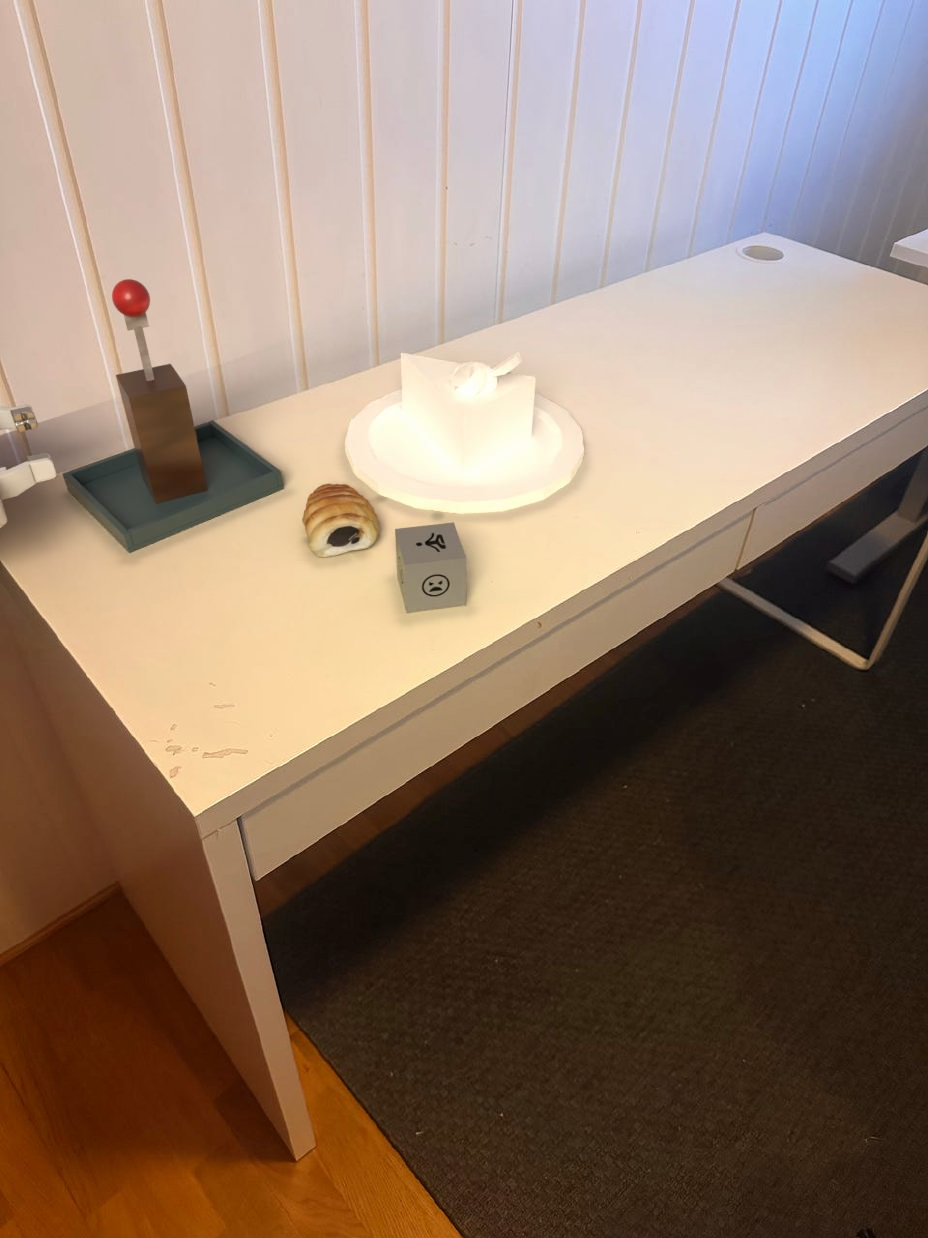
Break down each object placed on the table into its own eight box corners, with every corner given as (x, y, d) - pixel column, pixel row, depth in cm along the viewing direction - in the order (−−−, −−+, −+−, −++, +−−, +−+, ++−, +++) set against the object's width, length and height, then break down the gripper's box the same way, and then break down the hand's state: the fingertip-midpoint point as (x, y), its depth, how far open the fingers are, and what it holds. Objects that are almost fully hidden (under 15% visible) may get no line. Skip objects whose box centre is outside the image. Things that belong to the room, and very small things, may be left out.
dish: (629, 443, 95) (644, 342, 88) (472, 545, 81) (475, 435, 74) (458, 371, 107) (459, 277, 100) (296, 449, 93) (284, 346, 86)
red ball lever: (155, 504, 84) (102, 296, 71) (142, 478, 88) (89, 275, 75) (207, 490, 86) (165, 285, 73) (192, 466, 90) (149, 265, 76)
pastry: (296, 504, 86) (292, 470, 83) (366, 495, 87) (364, 461, 85) (311, 562, 79) (307, 527, 76) (386, 551, 80) (384, 516, 78)
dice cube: (465, 605, 75) (466, 557, 72) (406, 612, 74) (404, 565, 71) (453, 569, 78) (453, 522, 75) (397, 575, 78) (395, 528, 74)
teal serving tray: (129, 553, 80) (123, 535, 78) (67, 490, 87) (62, 473, 86) (284, 488, 88) (281, 471, 86) (215, 436, 95) (212, 419, 94)
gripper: (-125, 453, 82) (35, 419, 87) (-112, 577, 68) (76, 528, 73) (-155, 390, 78) (14, 358, 83) (-148, 508, 64) (54, 461, 69)
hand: (44, 439), depth 78 cm, fingers open, 8 cm apart
